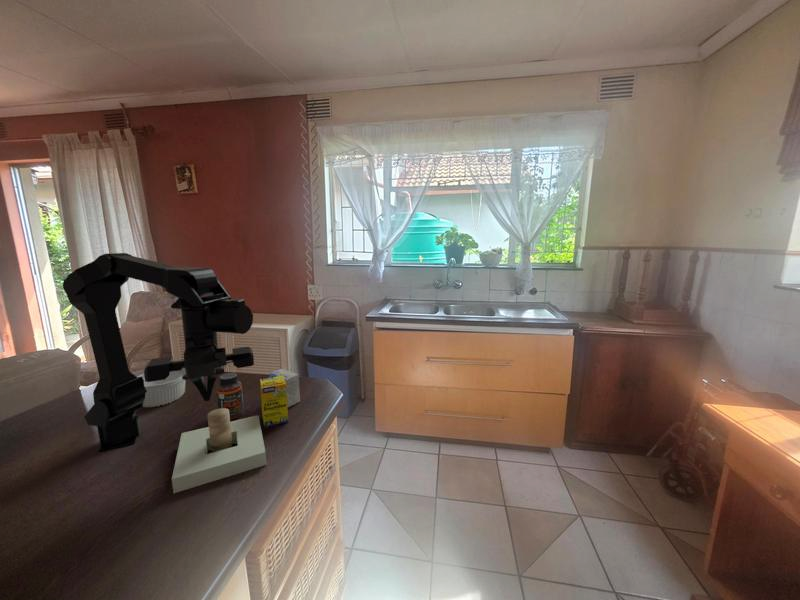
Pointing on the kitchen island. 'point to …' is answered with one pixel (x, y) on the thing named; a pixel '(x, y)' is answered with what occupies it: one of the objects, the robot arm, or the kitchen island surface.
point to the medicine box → (289, 385)
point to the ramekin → (164, 389)
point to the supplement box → (274, 401)
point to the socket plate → (218, 455)
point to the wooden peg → (219, 429)
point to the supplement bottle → (230, 395)
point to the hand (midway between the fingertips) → (207, 400)
